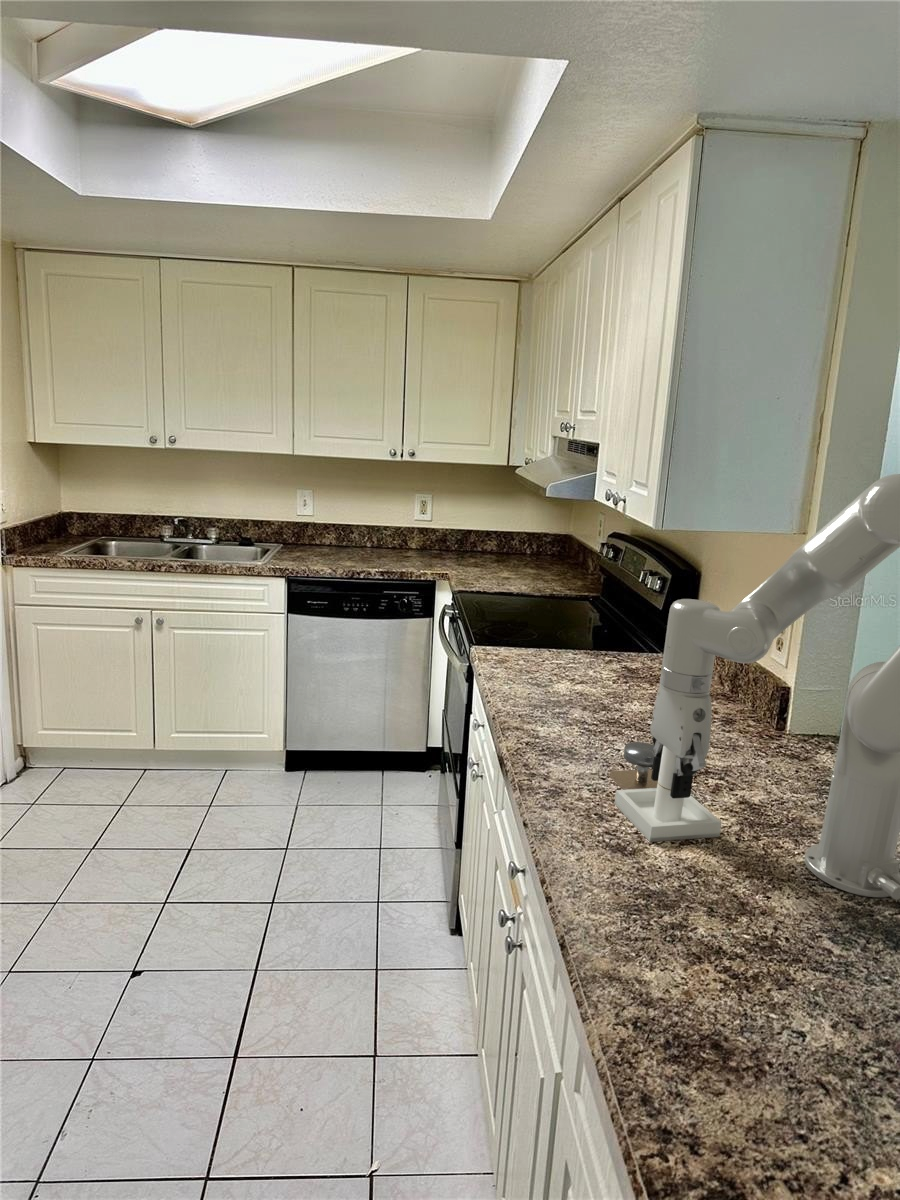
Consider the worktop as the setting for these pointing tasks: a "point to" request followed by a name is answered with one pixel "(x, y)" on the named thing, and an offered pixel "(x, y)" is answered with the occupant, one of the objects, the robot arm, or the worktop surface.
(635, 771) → the knob on plate
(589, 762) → the worktop surface
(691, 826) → the tray
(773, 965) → the worktop surface
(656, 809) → the tube
